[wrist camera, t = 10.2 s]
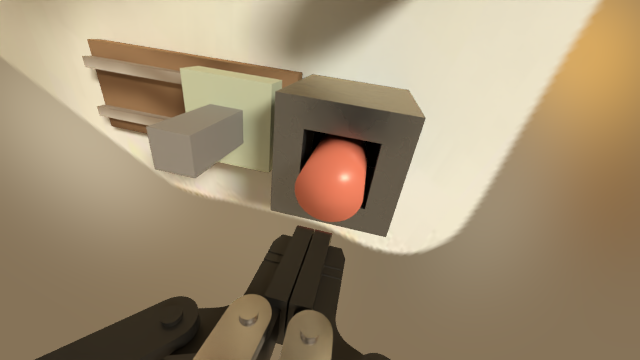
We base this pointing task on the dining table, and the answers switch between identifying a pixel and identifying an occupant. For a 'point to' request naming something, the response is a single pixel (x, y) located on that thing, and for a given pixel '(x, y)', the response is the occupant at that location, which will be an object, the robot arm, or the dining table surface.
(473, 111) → the dining table surface
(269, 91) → the carriage
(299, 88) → the cabinet
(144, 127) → the rail track
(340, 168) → the plunger
